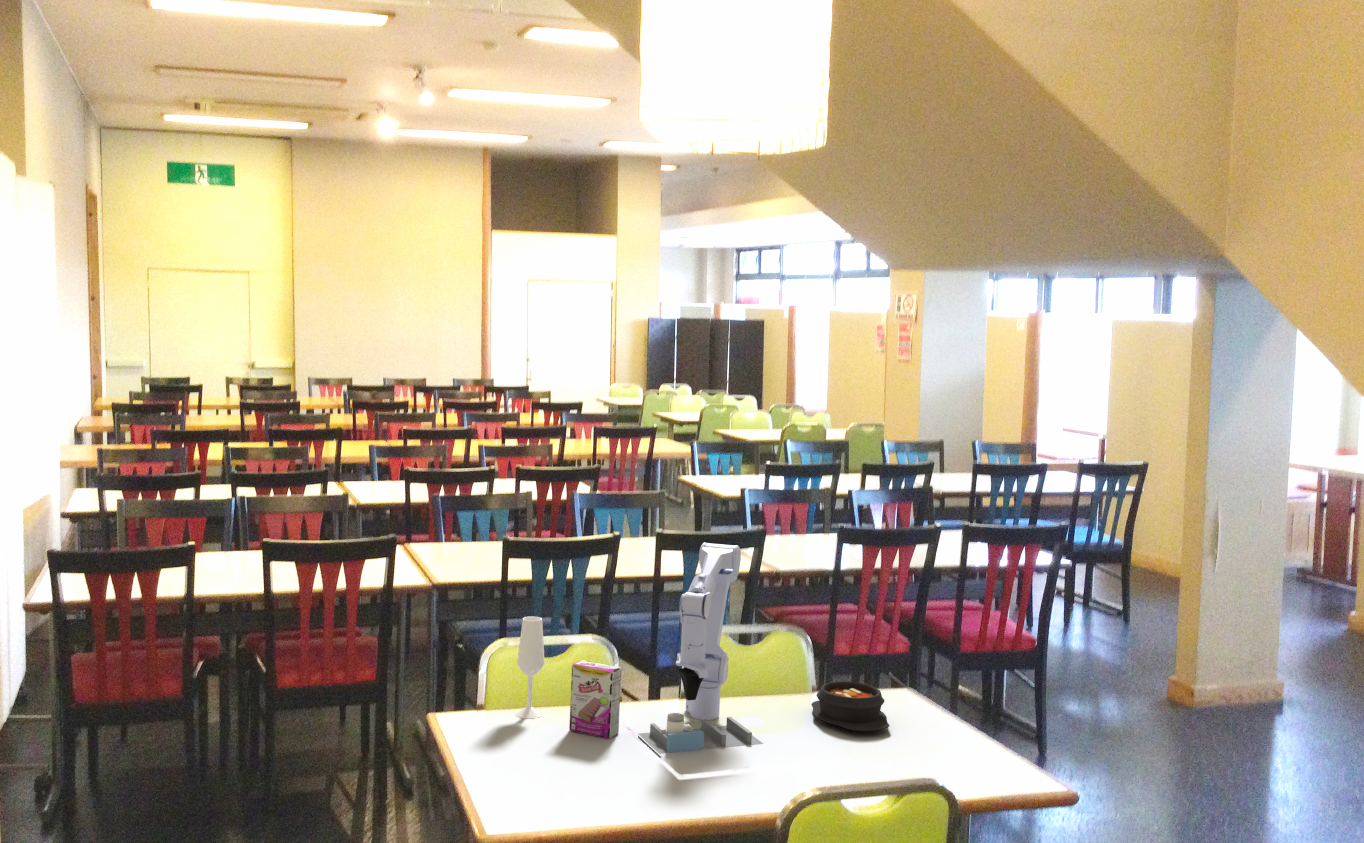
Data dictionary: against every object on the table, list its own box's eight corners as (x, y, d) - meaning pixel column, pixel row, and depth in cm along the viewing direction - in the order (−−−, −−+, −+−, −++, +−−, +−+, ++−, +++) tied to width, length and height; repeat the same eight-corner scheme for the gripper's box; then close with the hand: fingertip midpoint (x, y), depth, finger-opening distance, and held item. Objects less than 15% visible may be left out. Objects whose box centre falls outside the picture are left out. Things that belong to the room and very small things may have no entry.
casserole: (907, 735, 296) (908, 701, 295) (839, 741, 289) (841, 706, 289) (858, 704, 319) (859, 673, 318) (794, 709, 312) (796, 677, 312)
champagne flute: (536, 720, 294) (539, 623, 293) (510, 716, 296) (514, 620, 294) (546, 712, 301) (550, 617, 299) (521, 708, 302) (525, 614, 301)
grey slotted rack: (637, 737, 285) (638, 716, 284) (737, 728, 294) (738, 708, 294) (659, 757, 272) (660, 736, 271) (763, 747, 282) (764, 726, 281)
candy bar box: (568, 731, 287) (570, 663, 286) (578, 725, 291) (581, 659, 290) (609, 740, 282) (612, 671, 281) (619, 734, 287) (622, 666, 285)
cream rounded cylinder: (663, 738, 282) (664, 713, 281) (679, 737, 283) (680, 712, 283) (669, 744, 278) (671, 718, 277) (685, 742, 279) (687, 717, 279)
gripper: (666, 636, 290) (663, 691, 291) (689, 652, 276) (686, 710, 277) (693, 634, 292) (690, 689, 293) (717, 650, 279) (714, 707, 280)
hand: (690, 699), depth 285 cm, fingers closed
